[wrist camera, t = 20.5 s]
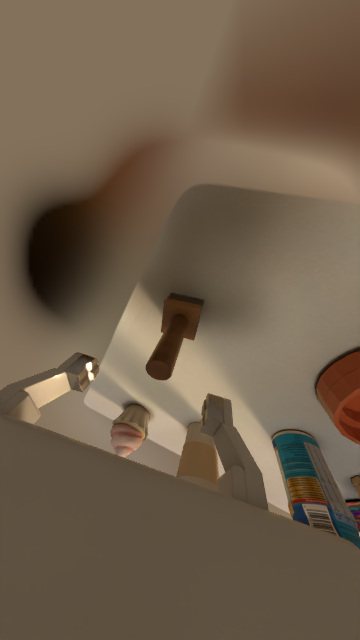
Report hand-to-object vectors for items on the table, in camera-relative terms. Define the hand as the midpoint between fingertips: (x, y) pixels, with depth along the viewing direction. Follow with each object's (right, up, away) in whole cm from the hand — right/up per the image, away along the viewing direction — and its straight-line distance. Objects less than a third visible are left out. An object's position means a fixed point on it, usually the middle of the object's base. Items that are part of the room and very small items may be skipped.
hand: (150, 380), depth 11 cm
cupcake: (-9, -20, +30) cm, 37 cm away
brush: (+3, +6, +13) cm, 15 cm away
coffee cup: (+8, -23, +28) cm, 37 cm away
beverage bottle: (+26, -22, +22) cm, 41 cm away
